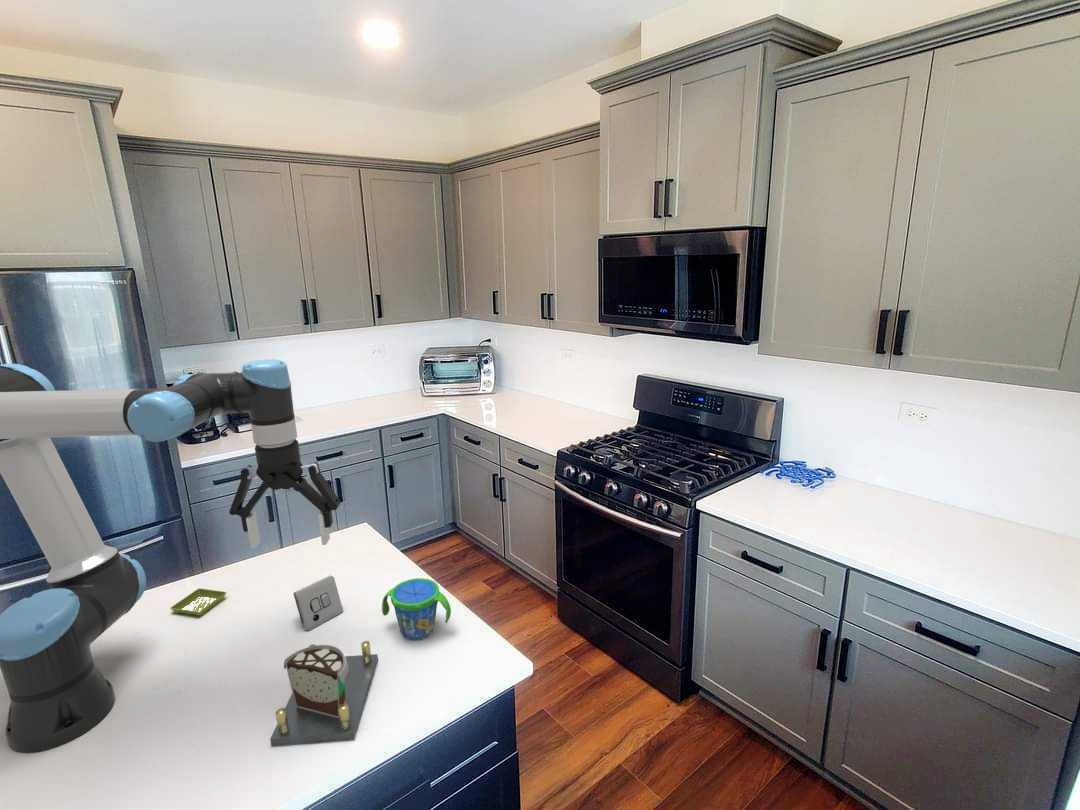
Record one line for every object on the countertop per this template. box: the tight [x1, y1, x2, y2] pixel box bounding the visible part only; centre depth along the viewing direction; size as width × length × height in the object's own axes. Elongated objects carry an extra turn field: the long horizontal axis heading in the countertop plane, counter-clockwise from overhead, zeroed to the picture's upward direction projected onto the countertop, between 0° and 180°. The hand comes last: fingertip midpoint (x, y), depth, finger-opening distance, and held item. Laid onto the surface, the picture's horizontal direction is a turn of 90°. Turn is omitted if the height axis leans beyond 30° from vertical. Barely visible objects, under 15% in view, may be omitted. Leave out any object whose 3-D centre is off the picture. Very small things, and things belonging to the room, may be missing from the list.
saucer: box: [169, 588, 227, 616], centre depth 135 cm, size 9×9×2 cm
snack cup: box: [381, 577, 452, 641], centre depth 123 cm, size 16×10×10 cm
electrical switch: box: [293, 575, 344, 631], centre depth 129 cm, size 9×5×9 cm, turn 141°
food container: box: [283, 644, 348, 718], centre depth 102 cm, size 12×6×10 cm, turn 73°
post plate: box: [269, 640, 379, 747], centre depth 105 cm, size 14×20×6 cm
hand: (291, 543), depth 110 cm, fingers open, 13 cm apart
